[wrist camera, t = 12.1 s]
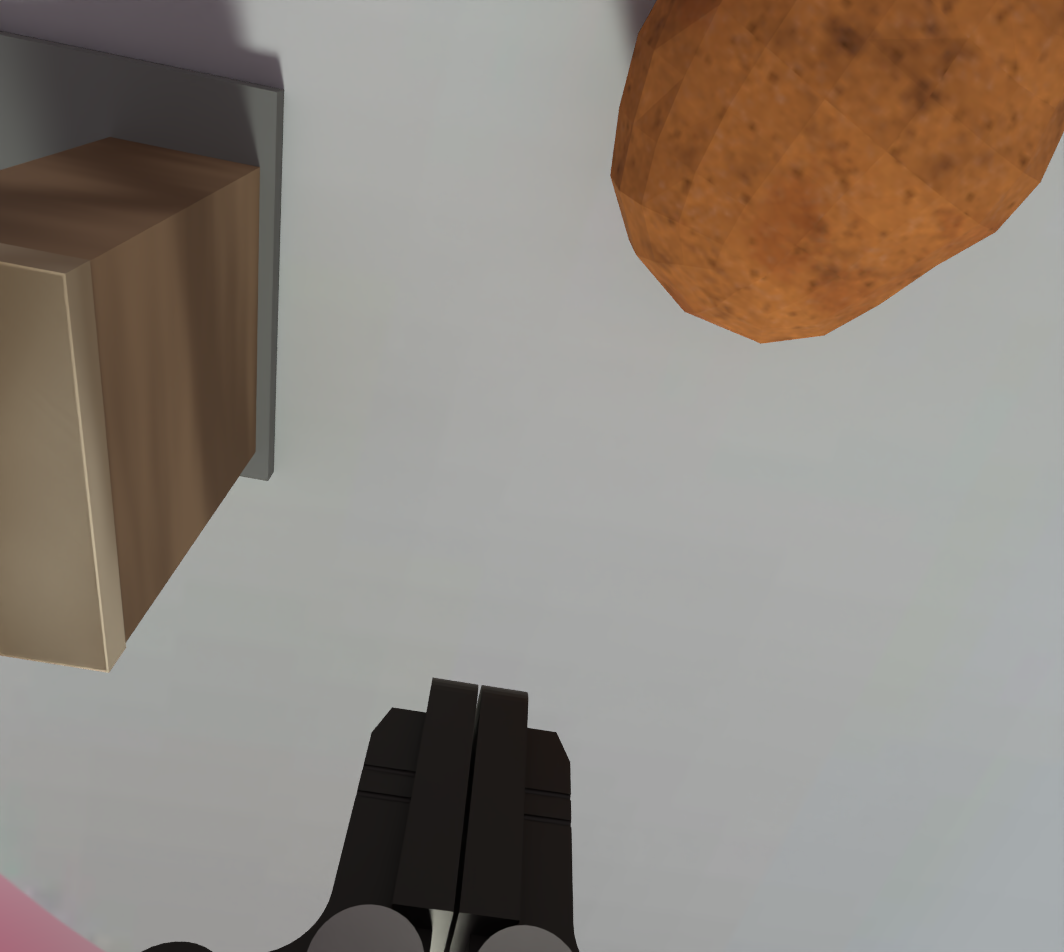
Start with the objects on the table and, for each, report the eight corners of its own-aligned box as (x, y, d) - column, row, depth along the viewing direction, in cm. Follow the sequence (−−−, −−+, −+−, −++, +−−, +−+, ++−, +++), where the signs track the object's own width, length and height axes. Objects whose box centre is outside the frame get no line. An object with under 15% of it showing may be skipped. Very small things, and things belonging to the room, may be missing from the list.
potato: (1098, -15, 20) (1359, -22, 13) (783, 346, 25) (861, 468, 18) (815, -289, 17) (964, -460, 11) (530, 170, 22) (516, 240, 16)
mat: (283, 90, 21) (276, 91, 21) (273, 471, 27) (267, 481, 27) (-228, -17, 21) (-248, -17, 20) (-122, 402, 27) (-135, 410, 26)
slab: (261, 165, 22) (65, 274, 13) (257, 453, 26) (108, 672, 18) (107, 134, 22) (-196, 223, 13) (130, 430, 26) (-82, 642, 18)
